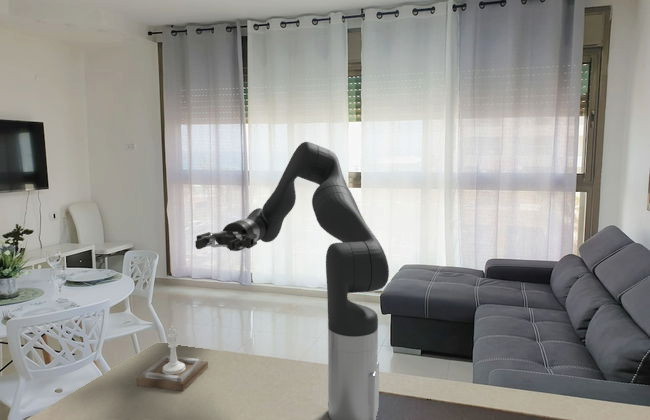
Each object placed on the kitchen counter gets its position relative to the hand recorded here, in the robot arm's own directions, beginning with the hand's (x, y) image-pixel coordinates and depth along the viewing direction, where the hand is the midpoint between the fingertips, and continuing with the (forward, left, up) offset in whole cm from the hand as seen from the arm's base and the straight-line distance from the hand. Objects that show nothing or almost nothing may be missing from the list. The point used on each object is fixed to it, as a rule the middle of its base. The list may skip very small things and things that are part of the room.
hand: (214, 245), depth 112 cm
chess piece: (+5, +11, -26) cm, 29 cm away
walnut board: (+5, +11, -28) cm, 30 cm away
